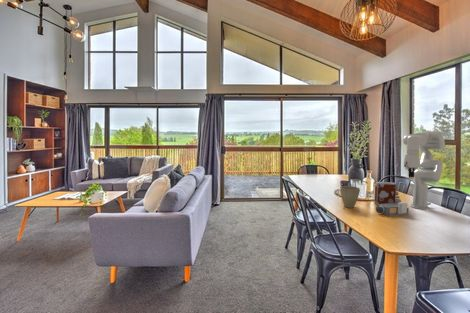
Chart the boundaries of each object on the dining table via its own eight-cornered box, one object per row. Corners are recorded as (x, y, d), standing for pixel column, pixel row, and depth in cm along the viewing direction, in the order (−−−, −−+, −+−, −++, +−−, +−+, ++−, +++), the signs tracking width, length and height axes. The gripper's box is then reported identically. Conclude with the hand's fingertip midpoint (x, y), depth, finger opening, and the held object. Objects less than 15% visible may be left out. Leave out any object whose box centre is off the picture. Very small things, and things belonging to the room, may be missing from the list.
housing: (395, 210, 200) (396, 202, 200) (408, 214, 189) (408, 205, 189) (373, 212, 195) (373, 203, 194) (385, 216, 184) (385, 207, 184)
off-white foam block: (405, 212, 191) (405, 202, 190) (407, 213, 189) (408, 202, 188) (397, 213, 189) (398, 202, 188) (400, 214, 187) (400, 203, 186)
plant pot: (339, 208, 206) (340, 188, 205) (339, 203, 220) (340, 185, 218) (359, 210, 200) (360, 190, 199) (358, 205, 214) (359, 186, 213)
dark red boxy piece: (402, 208, 206) (404, 184, 204) (377, 206, 210) (378, 183, 208) (398, 205, 215) (399, 182, 213) (373, 203, 219) (374, 181, 217)
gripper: (416, 151, 191) (414, 175, 193) (400, 152, 188) (398, 176, 190) (425, 152, 184) (424, 177, 186) (409, 153, 181) (407, 178, 183)
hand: (411, 176), depth 188 cm, fingers closed
